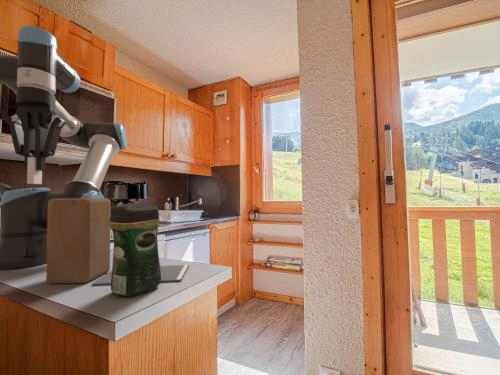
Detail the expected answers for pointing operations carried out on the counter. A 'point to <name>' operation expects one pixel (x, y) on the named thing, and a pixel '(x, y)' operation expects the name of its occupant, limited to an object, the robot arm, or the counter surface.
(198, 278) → the counter surface
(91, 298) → the counter surface
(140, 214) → the coffee jar
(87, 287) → the counter surface
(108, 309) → the counter surface
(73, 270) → the wooden block
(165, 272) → the gray book
